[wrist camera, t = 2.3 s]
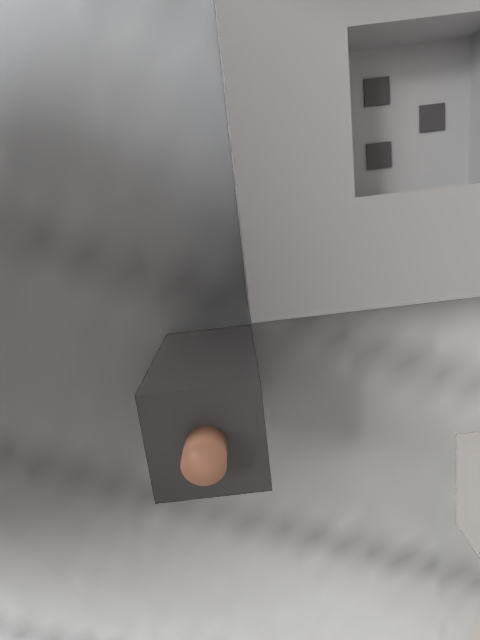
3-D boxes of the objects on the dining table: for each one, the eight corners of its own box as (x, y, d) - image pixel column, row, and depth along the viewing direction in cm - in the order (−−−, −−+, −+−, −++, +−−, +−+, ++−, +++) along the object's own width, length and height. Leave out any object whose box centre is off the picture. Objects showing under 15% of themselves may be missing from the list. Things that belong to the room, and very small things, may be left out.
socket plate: (248, 304, 20) (251, 323, 17) (208, -46, 17) (203, -113, 13) (546, 269, 20) (611, 281, 16) (568, -90, 16) (656, -169, 13)
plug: (179, 411, 21) (148, 529, 13) (166, 334, 20) (125, 412, 12) (258, 401, 21) (275, 514, 13) (250, 324, 20) (262, 396, 12)
